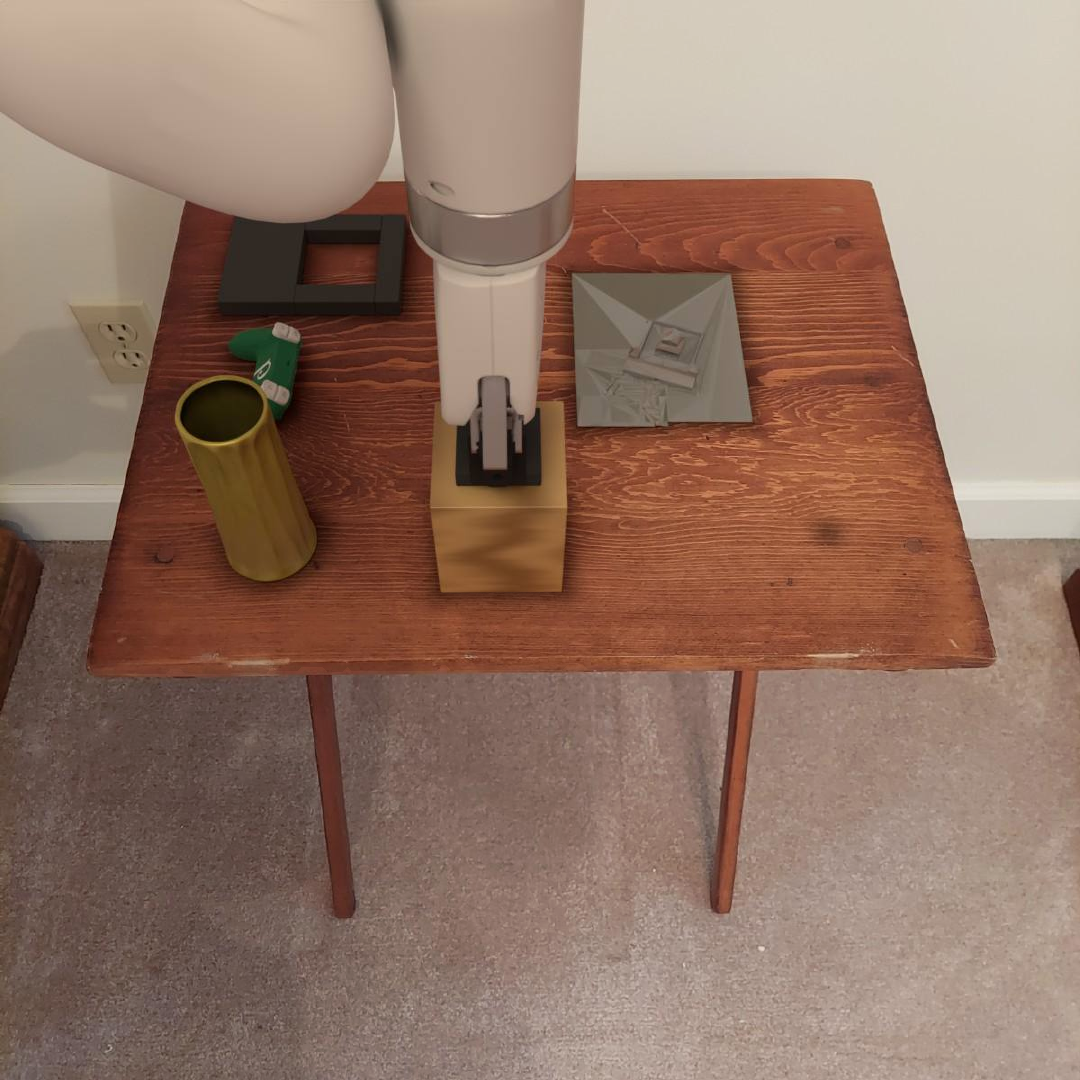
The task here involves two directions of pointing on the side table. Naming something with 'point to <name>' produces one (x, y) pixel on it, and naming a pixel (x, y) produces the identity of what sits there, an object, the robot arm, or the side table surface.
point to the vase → (246, 477)
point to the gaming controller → (271, 361)
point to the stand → (500, 518)
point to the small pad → (532, 451)
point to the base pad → (278, 262)
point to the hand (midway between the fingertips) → (498, 439)
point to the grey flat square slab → (657, 350)
